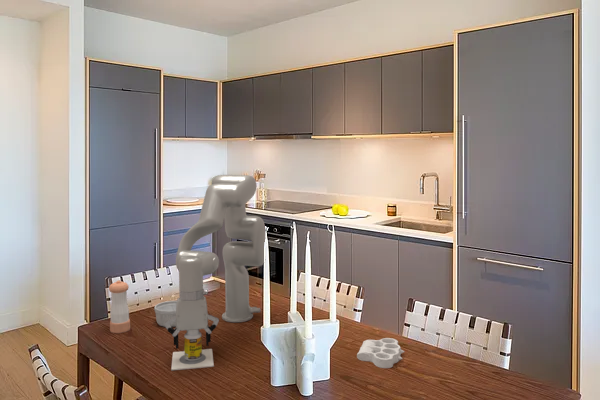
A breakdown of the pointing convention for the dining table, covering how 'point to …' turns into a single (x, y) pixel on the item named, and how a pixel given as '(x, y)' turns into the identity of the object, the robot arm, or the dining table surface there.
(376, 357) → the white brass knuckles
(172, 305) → the ramekin
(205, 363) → the card
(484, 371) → the dining table surface
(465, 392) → the dining table surface
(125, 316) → the salt shaker
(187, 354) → the supplement bottle
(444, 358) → the dining table surface
